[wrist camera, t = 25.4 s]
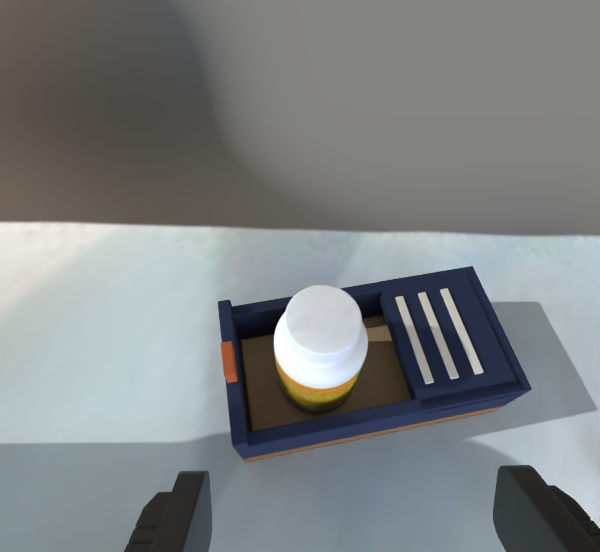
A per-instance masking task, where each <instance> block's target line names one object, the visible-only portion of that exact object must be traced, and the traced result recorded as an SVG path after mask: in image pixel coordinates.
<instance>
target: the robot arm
mask: <svg viewBox="0 0 600 552" xmlns="http://www.w3.org/2000/svg"><path fill="white" fill-rule="evenodd" d="M493 520H494V525H495V529H496V532H497V535H498V537H499V539H500V541H501V543H502V545H503V546H504V548H505V550H506V552H600V528H599V527H598V526H597V525H596V524H595V523H594V521H591V520H590V517H589V516H588V514H587V513H586V512H585V511H584V510H583V509H582V508H581V506H580V505H579V504H578V503H577V502H576V501H575V500H574V499H573V498H571V497H570V496H569V495H567V494H566V493H564V492H563V491H562V490H560V489H559V488H557V487H556V486H555V485H552V486H548V485H547V484H546V482H545V481H544V480H543V479H542V478H541V476H540V475H539V474H538V473H537V471H536V470H535V469H534V468H533V467H532V466H530V465H516V466H501V467H500V468H499V470H498V475H497V483H496V491H495V500H494V508H493ZM211 533H212V508H211V494H210V479H209V472H208V471H180V472H179V474H178V477H177V479H176V482H175V484H174V487H173V490H172V492H158V493H157V494H156V495H155V496H154V497H153V499H152V500H151V501H150V502H149V503H148V504H147V505H146V506H145V507H144V508H143V510H142V513H141V515H140V517H139V519H138V522H137V524H136V528H135V529H134V531H133V533H132V535H131V537H130V540H129V544H128V545H127V546H126V549H125V551H124V552H208V550H209V546H210V541H211Z"/></svg>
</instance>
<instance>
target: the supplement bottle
mask: <svg viewBox="0 0 600 552" xmlns="http://www.w3.org/2000/svg"><path fill="white" fill-rule="evenodd" d="M367 349H368V337H367V332H366V328H365V326H364V324H363V322H362V315H361V311H360V309H359V306H358V305H357V303H356V301H355V300H354V299H353V298H352V297H351V296H350V295H349V294H348V293H347V292H345V291H343V290H342V289H339V288H337V287H334V286H330V285H314V286H310V287H307V288H305V289H303V290H301V291H300V292H298V293H297V294H296V295H295V296H294V297H293V298H292V299H291V300H290V302H289V304H288V306H287V308H286V311H285V313H284V314H283V315H282V317H281V318H280V320H279V322H278V324H277V326H276V330H275V335H274V350H275V358H276V367H277V375H278V382H279V386H280V389H281V391H282V393H283V395H284V397H285V398H286V399H287V401H288V402H289V403H290V404H291V405H292V406H294V407H295V408H297V409H298V410H300V411H302V412H305V413H309V414H325V413H329V412H332V411H334V410H336V409H337V408H339V407H340V406H342V405H343V404H344V403H345V402H346V401H347V399H348V398H349V396H350V395H351V393H352V391H353V388H354V385H355V383H356V380H357V377H358V375H359V372H360V370H361V368H362V365H363V363H364V360H365V357H366V354H367Z"/></svg>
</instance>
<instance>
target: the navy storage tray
mask: <svg viewBox="0 0 600 552" xmlns="http://www.w3.org/2000/svg"><path fill="white" fill-rule="evenodd" d="M341 289H342V290H343V291H345V292H347V293H348V294H349V295H350V296H351V297H352V298H353V299H354V300H355V301H356V303H357V305H358V306H359V309H360V311H361V315H362V322H363V324H364V326H365V328H366V332H367V337H368V349H367V354H366V357H365V360H364V363H363V365H362V368H361V370H360V372H359V375H358V377H357V380H356V383H355V385H354V388H353V391H352V393H351V395H350V396H349V398H348V399H347V401H346V402H345V403H344V404H343V405H342V406H340V407H339V408H337V409H336V410H334V411H332V412H329V413H325V414H309V413H305V412H302V411H300V410H298V409H297V408H295V407H294V406H292V405H291V404H290V403H289V402H288V401H287V399H286V398H285V397H284V395H283V393H282V391H281V389H280V386H279V382H278V375H277V367H276V358H275V350H274V335H275V330H276V326H277V324H278V322H279V320H280V318H281V317H282V315H283V314H284V313H285V311H286V308H287V306H288V304H289V302H290V300H291V299H292V298H293V297H294V296H293V297H287V298H281V299H275V300H269V301H263V302H257V303H251V304H245V305H239V306H233V307H232V305H231V302H230V300H224V301H219V302H218V309H219V319H220V329H221V339H222V343H221V350H222V360H223V370H224V376H225V378H226V388H227V398H228V408H229V418H230V427H231V437H232V446H233V447H234V448H235V450H236V451H237V452H238V453H239V455H240V456H241V457H242V458H243V460H244V461H245V462H250V461H255V460H260V459H265V458H270V457H275V456H279V455H284V454H289V453H294V452H299V451H304V450H308V449H313V448H318V447H323V446H328V445H333V444H338V443H342V442H347V441H352V440H357V439H362V438H367V437H372V436H376V435H381V434H386V433H391V432H396V431H401V430H406V429H410V428H415V427H420V426H425V425H430V424H435V423H439V422H444V421H449V420H454V419H459V418H464V417H469V416H473V415H478V414H483V413H488V412H493V411H496V410H497V409H499V408H501V407H503V406H504V405H506V404H508V403H509V402H511V401H513V400H515V399H516V398H518V397H520V396H521V395H523V394H525V393H527V392H528V391H530V390H531V387H530V384H529V382H528V380H527V378H526V376H525V374H524V372H523V370H522V368H521V366H520V364H519V362H518V360H517V358H516V355H515V353H514V351H513V349H512V347H511V345H510V343H509V341H508V339H507V337H506V335H505V333H504V331H503V329H502V326H501V324H500V322H499V320H498V318H497V316H496V314H495V312H494V310H493V308H492V306H491V304H490V302H489V300H488V297H487V295H486V293H485V291H484V289H483V287H482V285H481V283H480V281H479V279H478V277H477V275H476V273H475V271H474V268H473V267H472V266H471V267H465V268H459V269H453V270H447V271H441V272H435V273H429V274H423V275H417V276H411V277H405V278H399V279H393V280H387V281H381V282H376V283H370V284H365V285H359V286H353V287H347V288H341Z"/></svg>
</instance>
